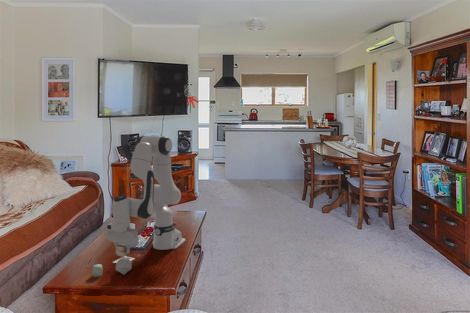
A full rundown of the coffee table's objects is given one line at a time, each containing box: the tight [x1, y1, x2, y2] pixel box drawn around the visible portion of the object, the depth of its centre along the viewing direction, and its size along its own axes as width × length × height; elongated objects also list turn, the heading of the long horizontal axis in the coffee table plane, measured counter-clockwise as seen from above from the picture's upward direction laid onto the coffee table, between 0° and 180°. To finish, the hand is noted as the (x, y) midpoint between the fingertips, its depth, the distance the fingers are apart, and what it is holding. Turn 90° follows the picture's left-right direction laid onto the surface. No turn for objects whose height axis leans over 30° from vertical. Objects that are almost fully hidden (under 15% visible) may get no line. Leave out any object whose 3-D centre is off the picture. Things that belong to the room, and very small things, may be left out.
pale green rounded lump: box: [92, 263, 104, 278], centre depth 204 cm, size 5×5×5 cm
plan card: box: [112, 255, 136, 264], centre depth 222 cm, size 10×8×1 cm
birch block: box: [115, 243, 131, 258], centre depth 205 cm, size 5×5×5 cm
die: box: [115, 257, 133, 276], centre depth 207 cm, size 8×9×10 cm
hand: (123, 251), depth 206 cm, fingers closed on birch block, 5 cm apart
